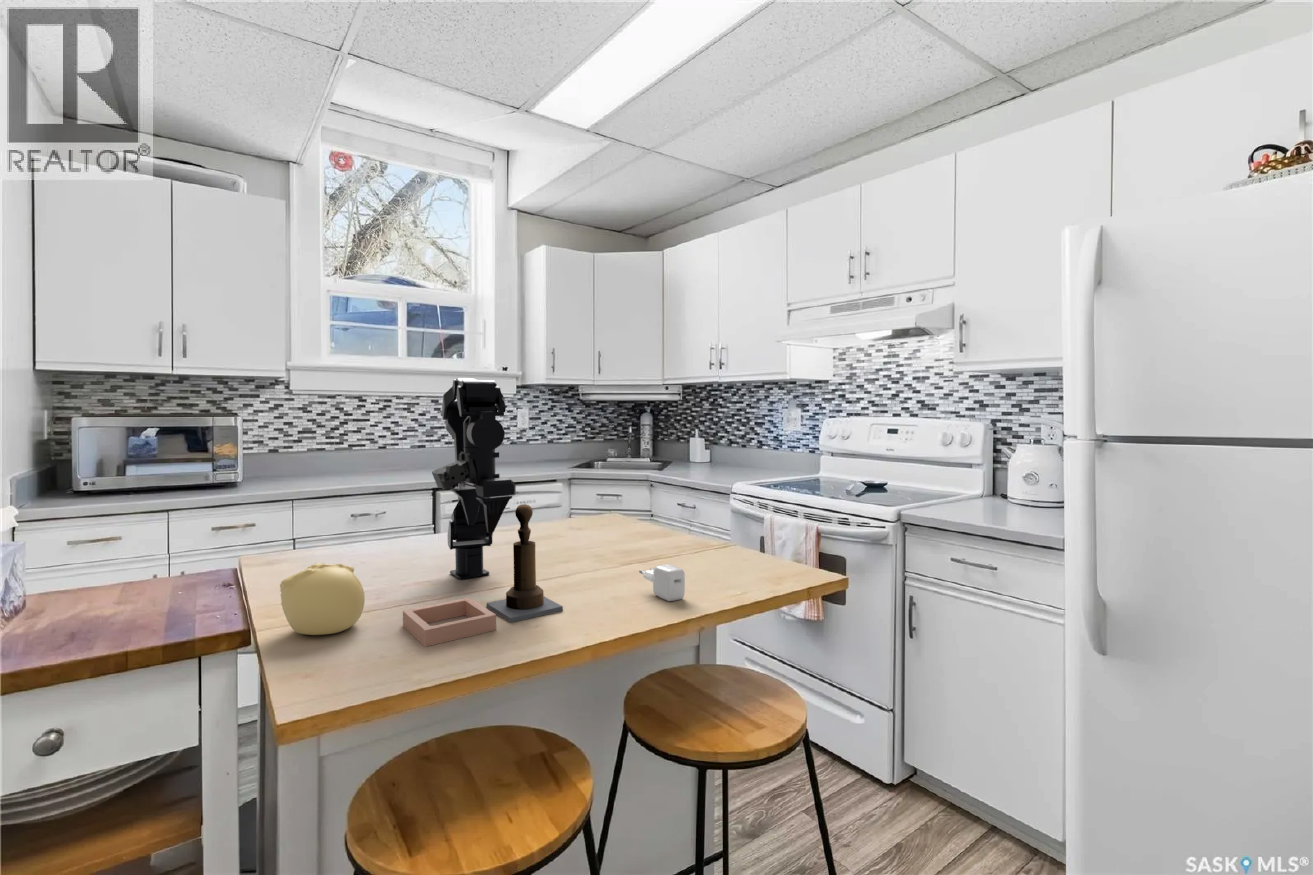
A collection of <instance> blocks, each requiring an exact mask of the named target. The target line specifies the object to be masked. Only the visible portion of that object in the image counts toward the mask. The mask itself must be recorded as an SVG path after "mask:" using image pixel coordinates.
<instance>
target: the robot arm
mask: <svg viewBox="0 0 1313 875" xmlns="http://www.w3.org/2000/svg"><path fill="white" fill-rule="evenodd" d="M506 408H507V407H506V401H505V397H504V393H503V392H502V391H501V387H500V386H498V384H497V382H496V381H495V380H486V379H485V380H480V379H479V380H478V379H477V378H476V379H475V378H473V377H457V378H453V380H452V386H451V387H450V388H449V389H448V390H447V391H446V392H445V393H444V394H443V396H442V404H441V417H442V418H441V419H442V421H445V422H444V423H445V430H446V431H447V432H448V433H449V435H450V436H451V437H452V439H453V443H454V445H453V446H454V457H455V458H454V460H455V461H453V462H451V463H448V464H446V465H443V466H441V467H439V468H437V469H434V470H433V471H431V474H432V477H433V479H434V482H435V484H436V486H437V488H438V489H442V490H448V489H450V492H452V493H453V494H455V495H456V496H457V503H456V505H455V507H454V509H453V511H452V513H451V520H448V526H447V527H448V528H447V529H448V530H447V546H448V548H449V550H454V551H455V554H454V556H455V569H453V570H450V571H449V573H450V574H451V575H453V576H454V577H456V578H458V579H459V580H465V579H469V578H470V579H471V578H476V577H482V576H486V575H487V576H488V575H490V571H489V570H487V569H484V547H491V545H493V536H494V532H495V530H496V528H497V526H498V524H499V521H500V519H501V518H502V515H503V514H504V511H505V510H506V507H507V506H508V503H509V501H510V500H511V499H513V496H515V495H516V494H517V493H516V491H517V490H516V489H517V488H516V487H517V486H516V483H515V481H513V480H512V479H509V478H505V477H500V473H497V472H496V458H500V451H496V449H498V448H499V447H500V446H502V443H503V442H504V439H505V435H506V434H505V432H506V431H505V429H504V426H503V425H502V423H501V422H500V421H499V420H498V419H496V417H504V416H505V413H506V410H507V409H506Z"/></svg>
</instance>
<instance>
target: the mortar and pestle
mask: <svg viewBox="0 0 1313 875" xmlns="http://www.w3.org/2000/svg"><path fill="white" fill-rule="evenodd" d="M533 512H534V510H533V508H532V506H531V505H529V504H519V505H517V507H516V509H515V511H514V513H515V517H516V519H517V521H518V522H519V525H520V527H519V529H517V533H518V535H517V536H518V537H519V540H518V541H515V542H513V544H512V545H513V549H512V552H513V553H512V554H513V586H511V587H510V589H509V590H507V591H506V593H505V599H506V606H507V607H509V608H512V609H531V608H535V607H539V606H541V605H542V604H543V603H544V597H545V595H544V594H545V593H544V589H543V588H542V587H540V586H539V585H537V573H536V569H537V568H536V542H535V541H532V540H530V537H531V531H532V530H531V528H530V527H529V523H530V520H531V519H532V516H533Z"/></svg>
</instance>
